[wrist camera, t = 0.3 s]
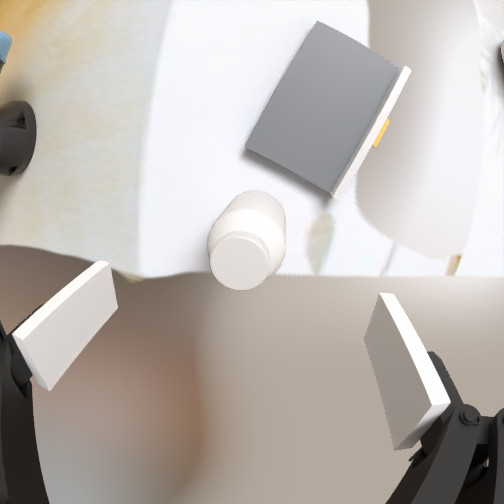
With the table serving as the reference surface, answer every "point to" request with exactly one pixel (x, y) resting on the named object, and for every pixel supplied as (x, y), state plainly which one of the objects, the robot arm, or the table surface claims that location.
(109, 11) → the table surface
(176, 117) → the table surface
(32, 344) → the robot arm
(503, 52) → the teacup
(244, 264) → the pill bottle
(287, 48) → the table surface
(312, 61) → the shelf
